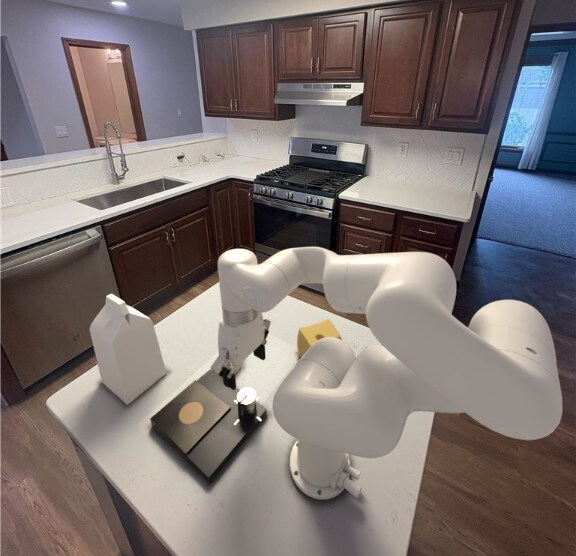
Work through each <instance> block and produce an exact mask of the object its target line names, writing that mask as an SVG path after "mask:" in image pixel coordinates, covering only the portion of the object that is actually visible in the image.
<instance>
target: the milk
mask: <svg viewBox="0 0 576 556" xmlns="http://www.w3.org/2000/svg"><path fill="white" fill-rule="evenodd" d="M156 332H157V331H156V330H155V325H154V322H153V321H152V319H151V318H150V317H149V316H148V315H145V314H144V313H142V312H140V310H137V309H136V308H134V307H133V306H131V305H128V304H126V302H125V301H124V300H123V299H121V298H120V297H118V296H117V295H115V294H114V293H109V294H108V295H106V296H105V304H104V306H103V307H102V308H101V310H100V311H99V312H98V313H97V315H96V316H95V318H94V319H93V321H91V323H90V326H89V333H90V337H91V341H92V346H93V350H94V354H95V360H96V363H97V367H98V371H99V372H98V373H99V377H100V380H101V383H102V384H104V385H105V386H106V388H108V389H109V390H110V391H111V392H113V394H115V395H116V396H117V398H119V399H120V400H121V401H122V402H124V403H125V404H126V405H127V406H128V405H129V404H130V403H132V402H133V401H134V400H136V399H137V398H138V397H139V396H140V395H142V394H143V393H144V392H145V391H147V390H148V389H149V388H150V387H152V386H153V385H154V384H155V383H157V382H158V381H159V380H160V379H161V378H163V377H164V376H165V375H167V369H166V366H165V362H164V359H163V354H162V351H161V346H160V344H159V343H160V342H159V340H158V336H157V333H156Z"/></svg>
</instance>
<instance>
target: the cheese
mask: <svg viewBox="0 0 576 556" xmlns="http://www.w3.org/2000/svg"><path fill="white" fill-rule="evenodd" d="M296 337H297V338H296V347H297V348H296V349H297V352H298V356H299V357H300V358H301V357H302V356H303V355H304V354H305V352H306V351H307V350H308V349H309V348H310V347H311V346H312V345H313V344H314V343H315V342H317V341H318V340H320V339H322V338H326V337H334V338H338V339H340V340H342V341H343V339H342V336H341V334H340V332H339V331H338V330H337V328H336V326H335V325H334V324H333V322H332V321H331V320H330V319H329V318H328V319H325V320H323V321H320V322H316V323H313V324H310V325H307V326H302V327H299V329H298V332H297V336H296Z"/></svg>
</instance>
